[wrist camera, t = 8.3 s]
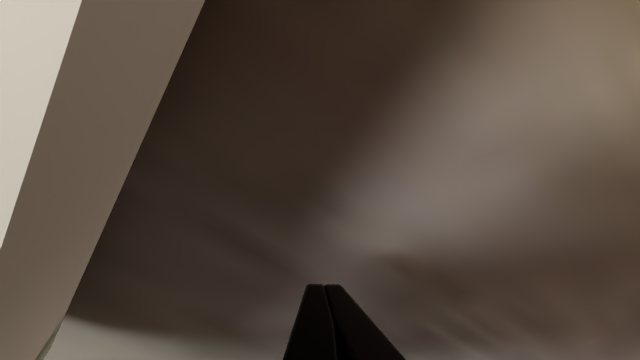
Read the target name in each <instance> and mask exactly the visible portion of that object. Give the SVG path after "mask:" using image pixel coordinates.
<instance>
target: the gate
mask: <svg viewBox="0 0 640 360" xmlns="http://www.w3.org/2000/svg"><path fill="white" fill-rule="evenodd" d="M204 2H205V0H0V360H43V359H44V357H45V356H46V354H47V353H48V351H49V350H50V348H51V346H52V343H53V341H54V339H55V337H56V334H57V332H58V330H59V328H60V325H61V323H62V321H63V319H64V316H65V314H66V312H67V310H68V307H69V305H70V303H71V301H72V298H73V296H74V294H75V292H76V289H77V287H78V285H79V283H80V280H81V278H82V276H83V274H84V271H85V269H86V267H87V265H88V262H89V260H90V258H91V256H92V253H93V251H94V249H95V247H96V244H97V242H98V240H99V238H100V235H101V233H102V231H103V229H104V226H105V224H106V222H107V220H108V217H109V215H110V213H111V211H112V208H113V206H114V204H115V202H116V200H117V197H118V195H119V193H120V191H121V188H122V186H123V184H124V182H125V179H126V177H127V175H128V173H129V170H130V168H131V166H132V164H133V161H134V159H135V157H136V155H137V152H138V150H139V148H140V146H141V143H142V141H143V139H144V137H145V134H146V132H147V130H148V128H149V125H150V123H151V121H152V119H153V116H154V114H155V112H156V110H157V107H158V105H159V103H160V101H161V98H162V96H163V94H164V92H165V89H166V87H167V85H168V83H169V80H170V78H171V76H172V74H173V71H174V69H175V67H176V65H177V62H178V60H179V58H180V56H181V54H182V51H183V49H184V47H185V45H186V42H187V40H188V38H189V36H190V33H191V31H192V29H193V27H194V24H195V22H196V20H197V18H198V15H199V13H200V11H201V9H202V6H203V4H204Z"/></svg>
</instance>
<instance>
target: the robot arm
mask: <svg viewBox="0 0 640 360" xmlns="http://www.w3.org/2000/svg"><path fill="white" fill-rule="evenodd" d="M283 360H406V359H405V358H404V357H403V356H402V355H401V354H400V353H399V351H398V350H397V349H396V348H395V347H394V346H393V345H392V343H391V342H390V341H389V340H388V339H387V338H386V337H385V335H384V334H383V333H382V332H381V331H380V330H379V329H378V327H377V326H376V325H375V324H374V323H373V322H372V321H371V319H370V318H369V317H368V316H367V315H366V314H365V312H364V311H363V310H362V309H361V308H360V307H359V306H358V304H357V303H356V302H355V301H354V300H353V299H352V298H351V296H350V295H349V294H348V293H347V292H346V291H345V290H344V288H343V287H342V286H340V285H336V284H326V285H324V286H323V285H322V284H308V285H307V286H306V289H305V292H304V295H303V298H302V301H301V304H300V307H299V311H298V314H297V317H296V320H295V323H294V326H293V329H292V332H291V335H290V339H289V342H288V345H287V348H286V351H285V354H284V357H283Z"/></svg>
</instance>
